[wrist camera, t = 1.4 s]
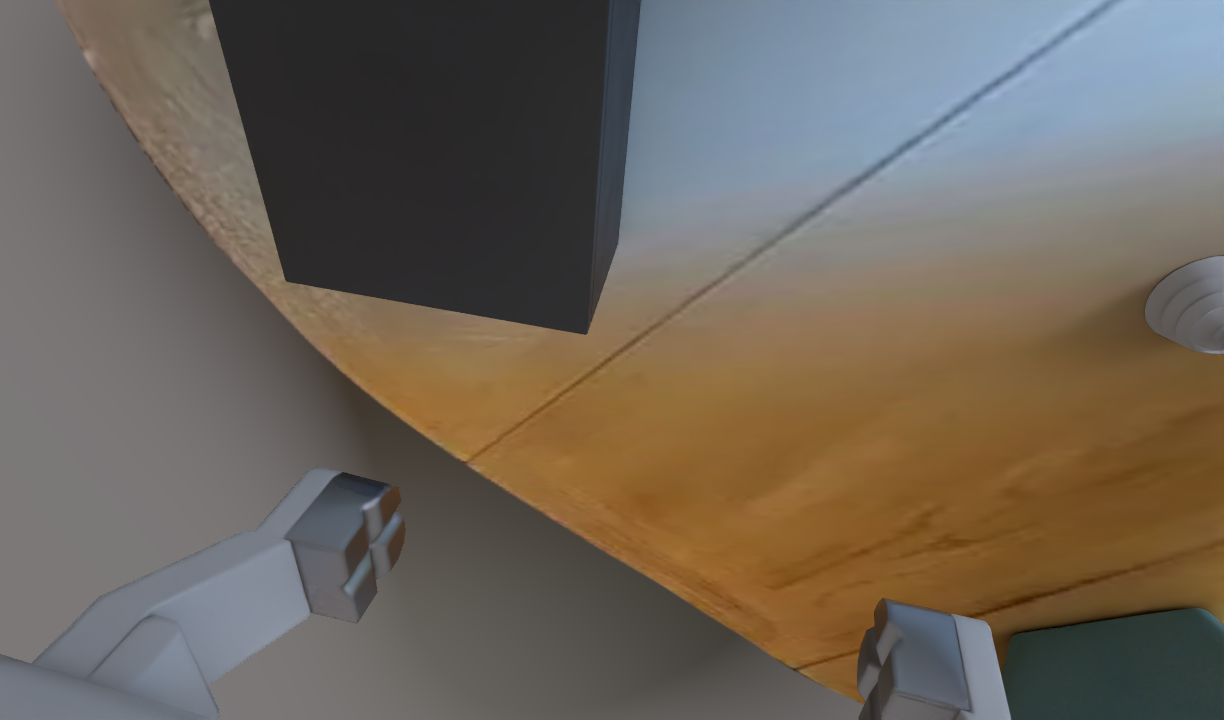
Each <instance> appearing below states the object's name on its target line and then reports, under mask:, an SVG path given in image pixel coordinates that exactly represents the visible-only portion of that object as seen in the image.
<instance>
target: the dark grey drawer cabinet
mask: <svg viewBox="0 0 1224 720" xmlns="http://www.w3.org/2000/svg"><path fill="white" fill-rule="evenodd" d="M209 3H210V7H211V10H212V14H213V18H214V21H215V25H216V29H217V32H218V36H219V40H220V43H221V47H222V51H223V54H224V58H225V61H226V65H227V69H228V72H229V76H230V80H231V83H232V87H233V91H234V94H235V98H236V102H237V105H238V109H239V112H240V116H241V120H242V123H243V127H244V131H245V134H246V138H247V142H248V145H249V149H250V153H251V156H252V160H253V163H254V167H255V171H256V174H257V178H258V182H259V185H260V189H261V193H262V196H263V200H264V204H265V207H266V211H267V214H268V218H269V222H270V225H271V229H272V233H273V236H274V240H275V244H276V247H277V251H278V255H279V258H280V262H281V265H282V269H283V273H284V276H285V280H286V281H287V282H291V283H297V284H303V285H308V286H314V287H320V288H325V289H331V290H337V291H342V292H348V293H353V294H359V295H365V296H370V297H376V298H382V299H387V300H393V301H398V302H404V303H410V304H415V305H421V306H427V307H432V308H438V309H444V310H449V311H455V312H460V313H466V314H472V315H477V316H483V317H489V318H494V319H500V320H506V321H511V322H517V323H522V324H528V325H534V326H539V327H545V328H551V329H556V330H562V331H568V332H573V333H579V334H584V335H586V334H587V333H588V330H589V327H590V323H591V321H592V318H593V315H594V312H595V309H596V307H597V304H598V301H599V298H600V295H601V292H602V289H603V286H604V283H605V280H606V277H607V274H608V271H609V268H610V265H611V263H612V260H613V257H614V254H615V251H616V248H617V245H618V238H619V227H620V216H621V206H622V195H623V184H624V174H625V163H626V152H627V142H628V131H629V120H630V110H631V99H632V88H633V78H634V67H635V56H636V46H637V35H638V24H639V14H640V3H641V0H209Z"/></svg>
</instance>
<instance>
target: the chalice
mask: <svg viewBox="0 0 1224 720" xmlns="http://www.w3.org/2000/svg"><path fill="white" fill-rule="evenodd" d="M1144 311H1145V317H1146V322H1147V323H1148V325H1149V326H1150V327H1151V328H1152V330H1153V331H1154V332H1156V333H1158V334H1159V335H1161V336H1163V337H1165V338H1167V339H1170V340H1172V341H1174V342H1176V343H1178V344H1180V345H1182V346H1184V347H1186V348H1188V349H1190V350H1192V351H1196V352H1201V353H1209V354H1224V256H1215V257H1210V258H1206V259H1203V260H1199V261H1195V262H1192V263H1190V264H1188V265H1186V266H1184V267H1182V268H1180V269H1178V270H1176V271H1174V272H1172V273H1171V274H1170V275H1169V276H1167V277H1166V278H1165V279H1164V280H1162V281H1161V282H1160V283H1158V285H1157V286H1156V287H1155V289H1154V290H1153V291H1152V293H1151V294H1150V295H1149V297H1148V300H1147V303H1146V306H1145V310H1144Z"/></svg>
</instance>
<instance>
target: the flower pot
mask: <svg viewBox="0 0 1224 720" xmlns="http://www.w3.org/2000/svg"><path fill="white" fill-rule="evenodd" d="M1002 681H1003V686H1004V690H1005V694H1006V699H1007V703H1008V707H1009V712H1010V716H1011V720H1224V625H1223V624H1222V623H1221V622H1220V621H1218V620H1217V619H1216V618H1215V617H1214V616H1213V615H1212V614H1211V613H1210V612H1208V611H1207V610H1204V609H1201V608H1189V609H1182V610H1174V611H1166V612H1159V613H1152V614H1146V615H1139V616H1132V617H1125V618H1118V619H1111V620H1105V621H1098V622H1091V623H1084V624H1077V625H1071V626H1065V627H1059V628H1051V629H1044V630H1037V631H1031V632H1024V633H1018V634H1015V635H1014V636H1012V637H1011V640H1010V642H1009V646H1008V650H1007V655H1006V659H1005V664H1004V669H1003V674H1002Z"/></svg>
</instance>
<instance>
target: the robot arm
mask: <svg viewBox="0 0 1224 720" xmlns="http://www.w3.org/2000/svg"><path fill="white" fill-rule="evenodd" d="M400 502H401V497H400V492H399V487H396V486H394V485H390V484H386V483H382V482H379V481H375V480H371V479H367V478H363V477H360V476H356V475H352V474H348V473H344V472H339V471H335V470H331V469H327V468H323V467H319V466H316V467H315V468H312V469H310V470H309V471H307V472H306V474H305V475H304V476H303V477H302V478H301V479H300V480H299V481H298V482H297V484H296V485H295V486H294V487H293V488H292V489H291V490H290V491H289V493H288V494H287V495H286V496H285V497H284V498H283V500H281V502H280V503H279V504H278V505H277V506H276V507H275V508H274V509H273V511H272V512H271V513H270V514H269V515H268V516H267V518H265V520H264V521H263V522H262V523H261V524H260V525H259V526H258V528H257V529H256V530H255V531H249V530H245V531H243V532H240V533H238V534H236V535H234V536H232V537H229V538H227V539H225V540H223V541H221V542H218V543H216V544H214V545H212V546H210V547H207V548H205V549H203V550H201V551H199V552H196V553H194V554H192V555H190V556H188V557H185V558H183V559H181V560H179V561H177V562H174V563H172V564H170V565H168V566H166V567H164V568H161V569H159V570H157V571H155V572H153V573H150V574H148V575H146V576H144V577H141V578H139V579H137V580H135V581H133V582H130V583H128V584H126V585H124V586H122V587H119V588H117V589H115V590H113V591H111V592H108V593H106V594H104V595H102V596H100V597H99V598H98V599H97V600H96V601H95V602H94V603H92V604H91V605H90V606H89V608H87V609H86V610H85V611H84V612H83V613H82V614H81V615H80V616H79V617H78V618H77V619H76V620H75V621H74V622H73V623H72V624H71V625H70V626H69V627H68V628H67V629H66V630H65V631H64V632H63V633H62V634H61V635H60V636H59V637H58V638H57V639H56V640H55V641H54V642H53V643H52V644H51V645H50V646H49V647H48V648H47V649H45V651H44V652H43V653H42V654H40V655H39V656H38V657H37V658H36V659H35V660H34V661H33V662H32V663H28V662H24V661H21V660H18V659H14V658H11V657H8V656H5V655H1V654H0V720H218V719H219V717H220V716H219V708H218V706H217V704H216V702H215V700H214V697H213V695H212V693H211V691H210V689H209V687H208V685H209V684H211V683H213V682H214V681H216V680H217V679H218V678H220V677H221V676H223V675H225V674H226V673H228V672H229V671H230V670H232V669H233V668H235V667H236V666H238V665H239V664H241V663H242V662H244V661H245V660H247V659H248V658H249V657H251V656H253V655H254V654H256V653H257V652H259V651H260V650H261V649H263V648H264V647H266V646H267V645H269V644H270V643H272V642H273V641H275V640H276V639H278V638H279V637H280V636H282V635H284V634H285V633H286V632H288V631H290V630H291V629H292V628H294V627H295V626H297V625H298V624H300V623H301V622H303V621H304V620H306V619H307V618H309V617H310V616H311V613H314V614H318V615H322V616H327V617H331V618H335V619H339V620H343V621H347V622H352V623H356V624H357V623H358V622H359V620H360V619H361V617H362V615H363V614H364V612H365V611H366V609H367V608H368V606H369V604H370V603H371V601H372V600H373V598H374V597H375V595H376V593H377V586H376V579H378V578H380V577H381V576H383V575H385V574H387V573H389V572H390V571H391V570H392V568H393V566H394V565H395V563H396V561H397V560H398V558H399V555H400V552H401V550H402V547H403V544H404V538H405V522H404V518H403V517H402V516H401V515H400V514H399V513H398V511H397V510H396V508H397V507H398V505H399V504H400ZM874 621H875V626H874V627H872V628H870V629H868V630H866V633H865V635H864V638H863V641H862V643H861V648H860V653H859V658H858V669H857V687H858V692H859V693H860V694H861V696H862V697H863V699H864V700H865V704H864V707H863V709H862V711H861V714H860V716H859V720H1011V716H1010V712H1009V707H1008V703H1007V699H1006V694H1005V690H1004V686H1003V681H1002V677H1001V673H1000V668H999V664H998V659H997V655H996V651H995V646H994V642H993V638H992V633H991V629H990V627H989V626H988V624H987V623H986V621H982V620H977V619H973V618H969V617H964V616H960V615H956V614H949V613H948V612H945V611H940V610H935V609H931V608H926V607H922V606H917V605H913V604H908V603H904V602H899V601H894V600H890V599H885V598H882V599H881V600H880V601H879V602H878V605H877V607H876V609H875V611H874Z"/></svg>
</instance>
